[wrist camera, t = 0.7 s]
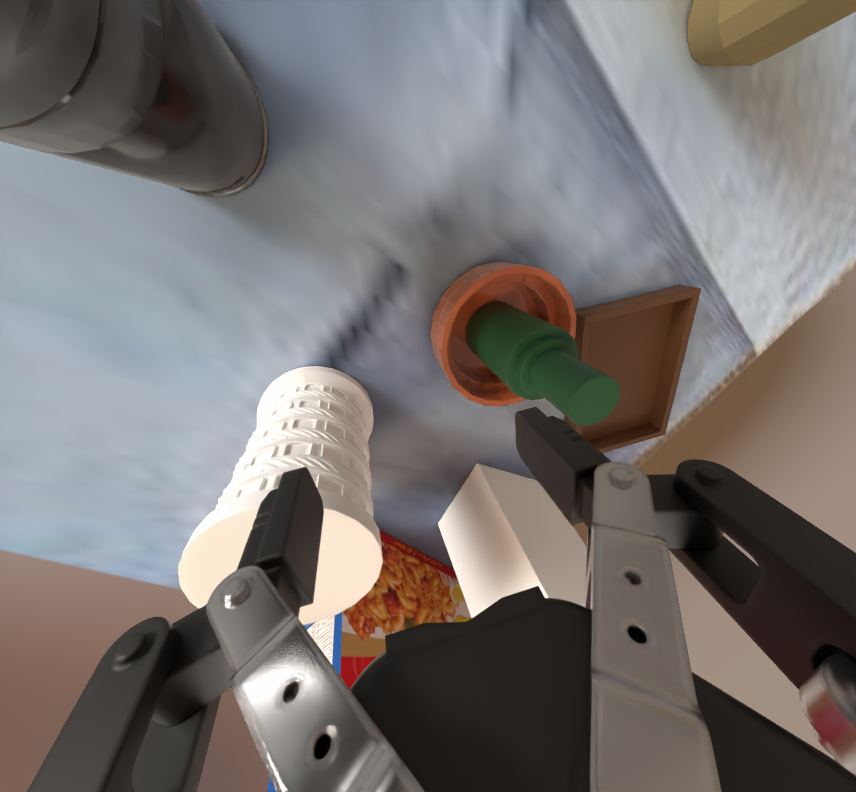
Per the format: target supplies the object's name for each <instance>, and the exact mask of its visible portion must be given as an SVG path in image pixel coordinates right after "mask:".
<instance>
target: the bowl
mask: <svg viewBox="0 0 856 792" xmlns="http://www.w3.org/2000/svg"><path fill="white" fill-rule="evenodd" d="M493 301H500V302H505V303H507V304H509V305H511V306H513V307H516V308H518V309H520V310H522V311H524V312H527V313H529V314H531V315H533V316H535V317H537V318H540V319H542V320H544V321H546V322H548V323H551V324H553V325H555V326H557V327H559V328H561V329H564V330H566V331H567V332H568V333H569V334H570V335H571V336H572V337H573V338H574V340H575V333H576V312H575V308H574V305H573V301H572V297H571V295H570V294H569V292H568V291H567V290H566V288H565V287H564V285H563V284H562V283H561V281H560V280H559V279H558V278H556V277H555V276H553V275H551V274H550V273H548V272H546V271H545V270H543V269H541V268H536V267H531V266H525V265H520V264H514V263H507V262H500V261H497V262H493V263H488V264H484V265H479V266H476V267H475V268H473V269H471V270H470V271H468V272H466V273H465V274H463V275H461V276H460V277H458V278H457V279H456V280H455V281H454V282H453V284H452V285H451V286H450V287H449V288H448V289H447V290H446V291H445V293H444V294H443V295H442V297H441V299H440V301H439V304H438V306H437V308H436V310H435V312H434V315H433V320H432V327H431V334H430V336H431V342H432V348H433V353H434V356H435V358H436V360H437V362H438V363H439V365H440V367H441V369H442V370H443V372H444V373H445V375H446V377H447V378H448V380H449V381H450V383H451V384H452V386H453V387H454V388H455V389H456V390H457V391H458V392H460V393H461V394H462V395H463V396H464V397H466V398H467V399H468V400H471V401H474V402H477V403H480V404H482V405H487V406H506V405H509V404H513V403H517V402H521V401H523V400H525V399H524V398H521V397H519V396H517V395H516V394H514V393H513V392H512V391H511V390H510V389H509V388H508V387H507V386H506V385H505V384H504V383H503V382H502V381H501V380H500V379H499V378H498V377H497V376H496V375H495V374H494V373H493V372H492V371H491V370H490V369H489V368H488V367H487V366H486V365H485V364H484V363H483V362H482V361H481V360H480V359H479V358H478V357H477V356H476V355H475V354H474V353H473V352H472V351H471V350H470V348H469V347H468V345H467V342H466V337H465V331H466V326H467V323H468V320H469V318H470V317H471V315H472V314H473V313H474V312H475V311H476V310H477V309H478V308H479V307H480V306H482V305H484V304H486V303H489V302H493Z"/></svg>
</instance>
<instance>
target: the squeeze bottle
mask: <svg viewBox="0 0 856 792" xmlns="http://www.w3.org/2000/svg"><path fill="white" fill-rule="evenodd" d="M855 11H856V0H694V1H693V5H692V8H691V12H690V15H689V19H688V34H687V41H688V45H689V49H690V52H691V56H692V57H693V58H694V59H695V60H696V61H697V62H698V63H699V64H700V65H705V66H741V65H753V64H755V63H757V62H760V61H762V60H764V59H766V58H768V57H771V56H773V55H774V54H776V53H778V52H780V51H782V50H784V49H786V48H788V47H789V46H791V45H793V44H795V43H797V42H799V41H801V40H803V39H805V38H806V37H808V36H810V35H812V34H814V33H816V32H818V31H820V30H821V29H823V28H825V27H827V26H829V25H831V24H833V23H835V22H837V21H838V20H840V19H842V18H844V17H846V16H848V15H850V14H852V13H854V12H855Z"/></svg>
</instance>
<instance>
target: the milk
mask: <svg viewBox="0 0 856 792" xmlns="http://www.w3.org/2000/svg"><path fill="white" fill-rule="evenodd" d="M438 526H439V528H440V531H441V534H442V537H443V540H444V542H445V545H446V548H447V551H448V553H449V556H450V559H451V562H452V565H453V567H454V570H455V573H456V576H457V579H458V581H459V584H460V587H461V590H462V592H463V595H464V598H465V601H466V604H467V606H468V609H469V612H470V615H471V617H472V618H473V617H475V616H476V615H478V614H479V613H481V612H482V611H483V610H485V609H486V608H488V607H489V606H491V605H492V604H494V603H495V602H496V601H498V600H499V599H501V598H502V597H505V596H509V595H512V594H515V593H518V592H521V591H524V590H527V589H530V588H533V587H536V586H539V588H540V590H541V592H542V594H543V595H544V597H545V598H555V599H562V600H566V601H570V602H573V603H576V604H579V605H582V606H583V604H584V592H585V574H586V552H587V547H586V546H585V544H584V542H583V541H582V540H581V538H580V536H579V535H578V534H577V532H576V531H575V529H574V528H573V526H572V525H571V524H570V523H569V522H568V520H567V519H566V518H565V516H564V515H563V514H562V512H561V511H560V510H559V508H558V507H557V506H556V504H555V503H554V502H553V500H552V499H551V498H550V496H549V495H548V494H547V492H546V491H545V490H544V488H543V487H542V486H541V484H540V483H539V482H538V481H537V480H534V479H530V478H527V477H523V476H520V475H516V474H513V473H509V472H506V471H502V470H499V469H495V468H492V467H489V466H485V465H482V464H478V463H477V464H476V465H475V467H474V468H473V470H472V471H471V473H470V475H469V476H468V478H467V479H466V481H465V482H464V484H463V485H462V487H461V488H460V490H459V492H458V493H457V495H456V496H455V498H454V499H453V501H452V502H451V504H450V505H449V507H448V509H447V510H446V512H445V513H444V515H443V516H442V518H441V519H440V521H439V522H438Z"/></svg>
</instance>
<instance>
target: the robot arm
mask: <svg viewBox="0 0 856 792" xmlns="http://www.w3.org/2000/svg"><path fill="white" fill-rule="evenodd" d="M268 139H269V137H268V124H267V119H266V114H265V110H264V107H263V103H262V101H261V98H260V95H259V93H258V91H257V89H256V87H255V85H254V83H253V81H252V79H251V77H250V76H249V74H248V73H247V71H246V70H245V68H244V66H243V65H242V64H241V62H240V61H239V60H238V58H237V57H236V56H235V54H234V53H233V52H232V51H231V50H230V49H229V47H228V45H227V44H226V42H225V41H224V39H223V38H222V36H221V35H220V33H219V32H218V30H217V29H216V27H215V26H214V24H213V23H212V21H211V20H210V18H209V17H208V15H207V14H206V13H205V11H204V10H203V8H202V7H201V5H200V4H199V2H198V1H197V0H0V141H2V142H6V143H10V144H14V145H18V146H22V147H25V148H29V149H33V150H37V151H41V152H45V153H49V154H53V155H56V156H60V157H64V158H68V159H71V160H75V161H79V162H83V163H87V164H90V165H94V166H98V167H102V168H105V169H109V170H113V171H117V172H121V173H124V174H128V175H132V176H136V177H139V178H143V179H147V180H151V181H155V182H158V183H162V184H166V185H170V186H173V187H177V188H180V189H182V190H185V191H188V192H191V193H194V194H198V195H203V196H210V197H222V196H228V195H232V194H235V193H238V192H240V191H242V190H244V189H245V188H246V187H248V186H249V185H250V184H251V183H252V182H253V181H254V180H255V179H256V178H257V176H258V175H259V173H260V172H261V170H262V168H263V165H264V163H265V160H266V156H267V151H268ZM515 425H516V445H517V450H518V453H519V455H520V457H521V459H522V460H523V462H524V463H525V464H526V466H527V467H528V468H529V470H530V471H531V472H532V474H533V475H534V476H535V478H536V479H537V480H538V482H539V483H540V484H541V486H542V487H543V488H544V490H545V491H546V492H547V494H548V495H549V496H550V498H551V499H552V500H553V502H554V503H555V504H556V506H557V507H558V508H559V510H560V511H561V512H562V514H563V515H564V516H565V518H566V519H567V520H568V522H569V523H570V524H571V525H574V524H577V523H580V522H584V523H585V525H586V526H587V527H588V533H587V552H586V574H585V592H584V604H583V606H582V605H579V604H576V603H573V602H570V601H566V600H562V599H555V598H545V597H544V595H543V594H542V592H541V590H540V588H539V586H536V587H533V588H530V589H527V590H524V591H521V592H518V593H515V594H512V595H509V596H505V597H502V598H501V599H499V600H498V601H496V602H495V603H494V604H492V605H491V606H489V607H488V608H486V609H485V610H483V611H482V612H481V613H479V614H478V615H476V616H475V617H473V618H472V619H470V620H469V621H466V622H441V623H422V624H419V625H416V626H413V627H410V628H407V629H404V630H401V631H398V632H395V633H392V634H389V635H385V644H386V650H385V651H384V652H382V653H381V654H380V655H379V656H377V657H376V658H375V659H374V660H373V661H372V662H371V663H370V664H369V665H368V666H367V667H366V668H365V669H364V670H363V671H362V673H361V674H360V675H359V677H358V678H357V679H356V681H355V682H354V684H353V685H352V687H351V688H350V689H349V687H348V686H347V685H346V683H345V682H344V681H343V679H342V678H341V676H340V675H339V674H338V672H337V671H336V670H335V668H334V667H333V666H332V664H331V663H330V661H329V660H328V659H327V657H326V656H325V655H324V653H323V652H322V650H321V649H320V648H319V646H318V645H317V644H316V642H315V641H314V639H313V638H312V637H311V635H310V634H309V633H308V631H307V630H306V629H305V627H304V626H303V624H302V623H301V622H300V620H299V619H298V617H299V611H300V607H303V606H306V605H310V604H313V600H314V591H315V583H316V575H317V566H318V558H319V549H320V541H321V532H322V524H323V515H324V508H323V502H322V498H321V496H320V494H319V491H318V489H317V487H316V485H315V483H314V481H313V478H312V476H311V474H310V472H309V470H308V468H307V467H302V468H298V469H295V470H291V471H287V472H284V473H283V474H282V477H281V480H280V483H279V486H278V489H274V490H271V491H270V492H269V493H268V495H267V496H266V497H265V498H264V500H263V501H262V502H261V504H260V506H259V509H258V512H257V515H256V518H255V520H254V523H253V526H252V527H253V529H251V531H250V534H249V537H248V540H247V542H246V545H245V548H244V551H243V554H242V556H241V559H240V562H239V565H238V567H237V570H236V571H235V572H233V573H231V574H230V575H229V576H227V577H226V578H225V579H224V580H223V581H222V582H221V583H220V584H219V585H218V586H217V587H216V588H215V589H214V591H213V592H212V594H211V596H210V598H209V600H208V603H207V604H206V605H205V606H203V607H201V608H200V609H198V610H196V611H195V612H193V613H191V614H189V615H187V616H186V617H184V618H182V619H180V620H179V621H177V622H175V623H173V624H172V625H171V624H170V623H169V622H168V621H167V620H166V619H165V618H163V617H153V618H149V619H147V620H144V621H142V622H140V623H139V624H137V625H135V626H134V627H132V628H131V629H129V630H128V631H127V632H125V633H124V634H123V635H122V636H121V637H120V638H119V639H118V640H117V641H116V642H115V643H114V644H113V645H112V646H111V647H110V648H109V649H108V651H107V652H106V653H105V655H104V656H103V657H102V659H101V661H100V662H99V664H98V666H97V668H96V669H95V671H94V673H93V675H92V677H91V679H90V680H89V682H88V684H87V685H86V688H85V689H84V691H83V693H82V694H81V696H80V698H79V700H78V702H77V704H76V705H75V707H74V709H73V710H72V712H71V714H70V716H69V718H68V719H67V721H66V723H65V725H64V726H63V728H62V730H61V732H60V734H59V735H58V737H57V739H56V741H55V743H54V744H53V746H52V748H51V750H50V752H49V754H48V755H47V757H46V759H45V760H44V762H43V764H42V766H41V768H40V770H39V771H38V773H37V775H36V776H35V778H34V780H33V782H32V784H31V785H30V787H29V789H28V791H27V792H197V789H198V785H199V781H200V777H201V773H202V769H203V765H204V761H205V757H206V753H207V749H208V745H209V741H210V737H211V733H212V729H213V725H214V721H215V717H216V713H217V709H218V705H219V701H220V697H221V694H222V693H224V692H225V691H226V690H228V689H229V688H232V690H233V693H234V695H235V697H236V700H237V702H238V704H239V706H240V709H241V711H242V713H243V716H244V718H245V721H246V723H247V725H248V727H249V730H250V732H251V735H252V737H253V739H254V741H255V744H256V746H257V749H258V751H259V753H260V755H261V758H262V760H263V762H264V765H265V767H266V770H267V772H268V774H269V776H270V779H271V781H272V783H273V786H274V788H275V790H276V792H856V553H855V552H853V551H852V550H850V549H849V548H847V547H846V546H844V545H843V544H841V543H840V542H838V541H837V540H835V539H834V538H832V537H831V536H829V535H828V534H826V533H825V532H823V531H822V530H820V529H819V528H817V527H815V526H814V525H813V524H811V523H810V522H808V521H807V520H805V519H804V518H802V517H801V516H799V515H798V514H796V513H795V512H793V511H792V510H790V509H789V508H787V507H786V506H784V505H783V504H781V503H780V502H778V501H777V500H775V499H774V498H772V497H771V496H769V495H768V494H766V493H765V492H763V491H762V490H760V489H759V488H757V487H755V486H754V485H753V484H751V483H749V482H748V481H747V480H745V479H744V478H742V477H741V476H739V475H738V474H736V473H735V472H733V471H731V470H730V469H728V468H726V467H724V466H722V465H720V464H717V463H714V462H710V461H705V460H696V459H695V460H686V461H683V462H682V463H680V464H679V465H678V467H677V470H676V474H671V475H670V474H669V475H645V474H644V473H643V472H642V471H641V470H639V469H638V468H636V467H634V466H632V465H629V464H626V463H621V462H611V461H610V460H609V459H608V458H607V457H606V456H604V455H603V454H602V453H601V452H600V451H599V450H598V449H596V448H595V447H594V446H593V445H592V444H591V443H589V442H588V441H587V440H586V439H585V438H583V437H582V436H581V435H580V434H579V433H578V432H577V431H575V429H573V428H572V427H571V426H570V425H569V424H568V423H567V422H565V421H563V420H561V419H558V418H556V417H554V416H550V417H547V416H546V415H545V414H544V413H542V412H541V411H540V410H539V409H538V408H537V407H533V408H529V409H526V410H522V411H518V412H516V414H515ZM723 533H726V534H727V535H728V536H729V537H730V538H731V539H733V540H734V541H735V542H736V543H737V544H738V545H740V546H741V547H742V548H743V549H744V550H745V551H747V552H748V553H749V554H750V555H751V556H752V557H753V558H754V560H755V561H756V562H757V564H758V566H759V567H758V566H757V565H756V564H755V563H754V562H753V561H751V560H750V559H749V558H748V557H747V556H746V555H745V554H743V553H742V552H741V551H740V550H739V549H737V548H736V547H735V546H734V545H733V544H732V543H731V542H729V541H728V540H727V539H726V538H725V537H724V536H723ZM669 550H670V551H671V552H672V553H673V554H674V555H675V557H676V558H677V559H678V560H679V561H680V562H681V563H682V564H683V565H684V566H685V567H686V568H687V569H688V570H689V572H690V573H691V574H692V575H693V576H694V577H695V578H696V579H697V580H698V581H699V582H700V583H701V585H702V586H703V587H704V588H705V589H706V590H707V591H708V592H709V593H710V594H711V595H712V596H713V598H714V599H715V600H716V601H717V602H718V603H719V604H720V605H721V606H722V607H723V608H724V609H725V611H726V612H727V613H728V614H729V615H730V616H731V617H732V618H733V619H734V620H735V621H736V622H737V623H738V625H740V627H741V628H742V629H743V630H744V631H745V632H746V633H747V634H748V635H749V636H750V637H751V639H753V641H754V642H755V643H756V644H757V645H758V646H759V647H760V648H761V649H762V650H763V651H764V653H765V654H766V655H767V656H768V657H769V658H770V659H771V660H772V661H773V662H774V663H775V664H776V665H777V667H778V668H779V669H780V670H781V671H782V672H783V673H784V674H785V675H786V676H787V677H788V679H789V680H790V681H791V682H792V683H793V684H794V685H795V686H796V687H797V688H798V689H799V699H800V703H801V706H802V709H803V711H804V713H805V715H806V717H807V718H808V720H809V721H810V723H811V725H812V726H813V731H814V734H815V736H816V738H817V739H818V741H819V742H820V744H821V745H822V746H823V747H824V748H825V749H826V750H827V751H828V752H829V753H830V754H831V755H833V757H834V759H835V761H834V760H833V759H832V758H830V757H829V756H827V755H825V754H824V753H822V752H821V751H819V750H817V749H816V748H814V747H813V746H811V745H809V744H808V743H806V742H805V741H803V740H801V739H800V738H798V737H796V736H795V735H793V734H792V733H790V732H788V731H787V730H785V729H783V728H782V727H780V726H779V725H777V724H775V723H774V722H772V721H771V720H769V719H767V718H766V717H764V716H762V715H761V714H759V713H758V712H756V711H754V710H753V709H751V708H750V707H748V706H746V705H745V704H743V703H741V702H740V701H738V700H737V699H735V698H733V697H732V696H730V695H728V694H727V693H725V692H723V691H722V690H720V689H719V688H717V687H716V686H714V685H712V684H711V683H709V682H707V681H706V680H704V679H702V678H701V677H699V676H698V675H696V674H694V673H693V672H692V671H691V666H690V661H689V655H688V650H687V645H686V639H685V634H684V629H683V623H682V618H681V612H680V607H679V602H678V596H677V591H676V585H675V580H674V575H673V569H672V564H671V559H670V553H669Z"/></svg>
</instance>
